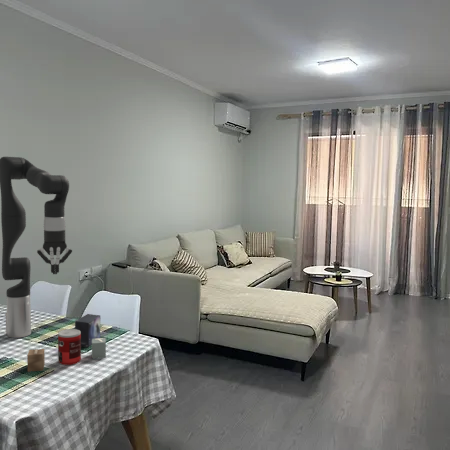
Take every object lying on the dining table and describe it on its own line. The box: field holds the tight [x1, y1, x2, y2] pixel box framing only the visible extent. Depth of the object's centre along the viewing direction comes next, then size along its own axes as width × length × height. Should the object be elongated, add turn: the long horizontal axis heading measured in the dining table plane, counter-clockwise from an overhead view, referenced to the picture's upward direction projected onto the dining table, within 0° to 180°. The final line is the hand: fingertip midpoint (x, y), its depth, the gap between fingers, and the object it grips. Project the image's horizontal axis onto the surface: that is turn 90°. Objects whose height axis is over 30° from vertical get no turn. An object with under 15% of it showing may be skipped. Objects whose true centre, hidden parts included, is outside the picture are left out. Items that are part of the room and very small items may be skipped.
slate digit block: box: [91, 337, 107, 360], centre depth 171 cm, size 5×5×6 cm
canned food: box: [57, 328, 82, 366], centre depth 165 cm, size 8×8×11 cm
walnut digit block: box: [26, 348, 46, 373], centre depth 159 cm, size 5×5×6 cm
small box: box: [74, 313, 101, 348], centre depth 184 cm, size 11×6×10 cm, turn 168°
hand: (55, 273), depth 170 cm, fingers closed
